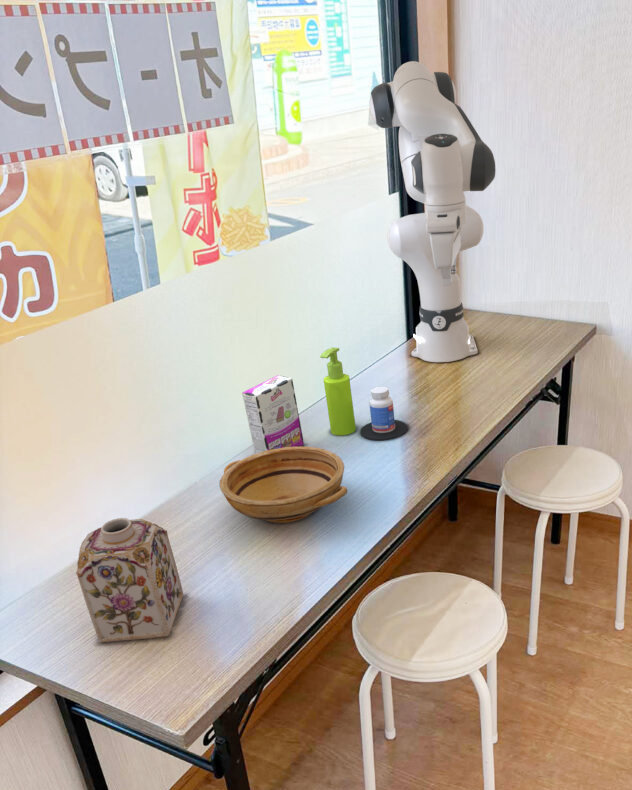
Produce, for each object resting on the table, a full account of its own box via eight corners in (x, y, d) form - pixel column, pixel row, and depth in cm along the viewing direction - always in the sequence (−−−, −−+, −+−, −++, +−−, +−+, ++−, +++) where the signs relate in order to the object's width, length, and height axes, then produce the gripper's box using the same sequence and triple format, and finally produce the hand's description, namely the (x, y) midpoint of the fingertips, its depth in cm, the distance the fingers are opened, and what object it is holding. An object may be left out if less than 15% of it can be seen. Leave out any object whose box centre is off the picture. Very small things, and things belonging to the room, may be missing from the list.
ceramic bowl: (192, 519, 168) (183, 484, 165) (274, 468, 185) (268, 435, 182) (305, 556, 153) (298, 518, 149) (384, 497, 170) (380, 461, 166)
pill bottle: (395, 433, 195) (390, 393, 191) (371, 434, 196) (366, 395, 191) (395, 423, 200) (391, 384, 196) (373, 425, 201) (368, 386, 196)
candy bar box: (289, 440, 198) (277, 374, 190) (304, 445, 195) (293, 377, 187) (254, 460, 190) (240, 391, 182) (269, 464, 187) (256, 395, 180)
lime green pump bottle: (323, 435, 199) (311, 353, 189) (339, 423, 204) (328, 343, 194) (345, 438, 196) (333, 356, 186) (360, 426, 201) (350, 345, 192)
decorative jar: (185, 595, 145) (161, 503, 137) (171, 637, 135) (144, 541, 126) (116, 601, 145) (88, 510, 137) (96, 644, 135) (64, 548, 126)
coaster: (365, 421, 204) (365, 419, 204) (410, 420, 202) (410, 419, 202) (356, 441, 194) (355, 439, 194) (403, 440, 192) (403, 438, 192)
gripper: (437, 207, 195) (441, 268, 201) (425, 226, 177) (430, 292, 184) (465, 205, 193) (468, 266, 200) (455, 224, 176) (459, 291, 182)
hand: (449, 279), depth 192 cm, fingers open, 8 cm apart
